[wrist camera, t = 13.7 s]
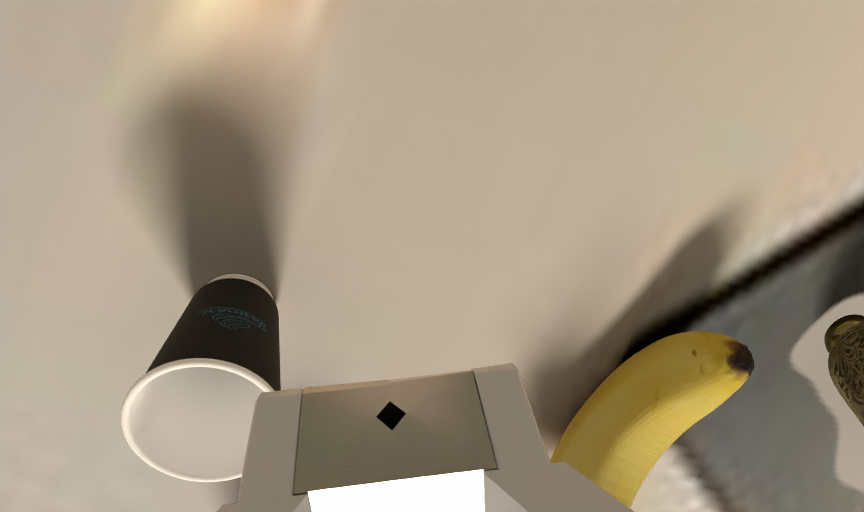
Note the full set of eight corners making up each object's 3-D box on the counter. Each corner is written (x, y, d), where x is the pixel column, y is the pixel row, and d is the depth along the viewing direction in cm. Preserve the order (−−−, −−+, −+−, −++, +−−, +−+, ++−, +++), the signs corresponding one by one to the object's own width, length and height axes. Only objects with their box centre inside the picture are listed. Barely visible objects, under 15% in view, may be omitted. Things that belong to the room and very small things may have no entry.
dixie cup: (204, 369, 45) (165, 500, 35) (148, 272, 41) (88, 389, 32) (317, 336, 45) (308, 459, 35) (272, 235, 41) (248, 342, 31)
